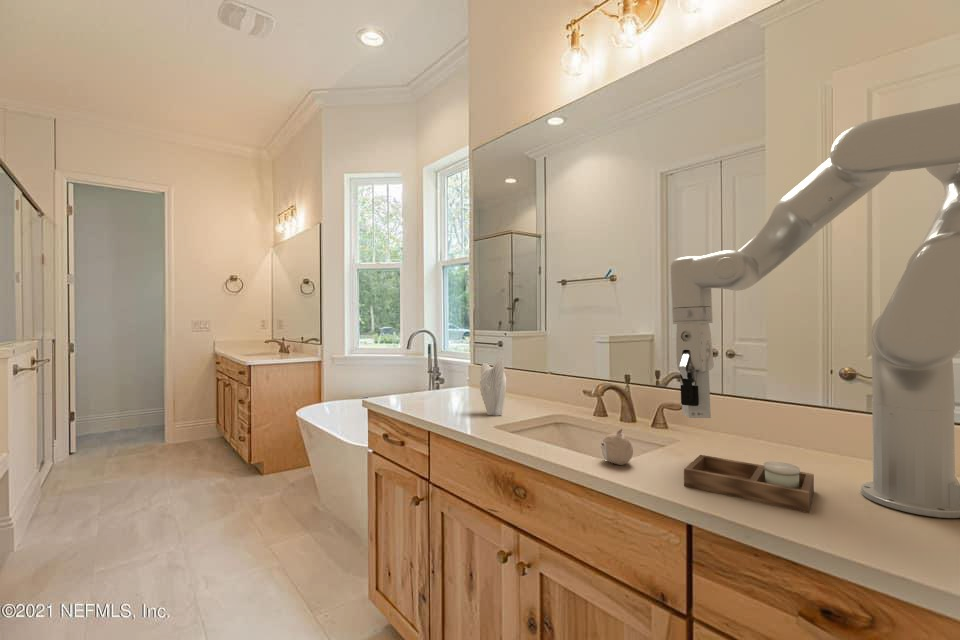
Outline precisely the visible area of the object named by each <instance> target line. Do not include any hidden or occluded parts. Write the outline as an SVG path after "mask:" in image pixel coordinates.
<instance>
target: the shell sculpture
mask: <svg viewBox="0 0 960 640" xmlns="http://www.w3.org/2000/svg"><path fill="white" fill-rule="evenodd" d="M504 364H505V362H504V360H503V358H497V359H496V362H495V363H494V364H493V366H492V367H491V366H490V365H489V364H488V363H485V362H482V364H481V366H480V381H479V385H480V391H479V392H480V395H481V397H482V401H483V404H484V407H485V410H486V413H487V415H488V416H494V417H495V416H502V415H503V413H504V408H505V407H504V406H505V399H506V392H507V377H506V372H505V366H504Z"/></svg>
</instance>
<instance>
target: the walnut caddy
mask: <svg viewBox="0 0 960 640" xmlns="http://www.w3.org/2000/svg"><path fill="white" fill-rule="evenodd" d="M814 477H815V474H814V473H811V472H803V471H800V474H799V489H795V488H790V487H784V486H779V485H774V484H769V483H765V469H764V464H763V465H761V464H758V463H752V462H751V463H750V462H745V461H739V460H734V459H728V458H723V457H715V456H712V455H711V456H709V455H704V454H699V455H698V456H697V457H696V458H695V459H694V460H692V461H691V462H690V463H689V464H688V465H687V466H685V468H684V469H683V486H684V487H688V488H692V489H697V490H702V491H706V492H711V493H716V494H721V495H725V496H729V497H734V498H739V499H742V500H748V501H752V502H756V503H757V502H758V503H762V504H766V505H771V506H774V507H775V506H776V507H780V508H784V509H790V510H794V511H799V512H803V513H809V512H810V509H811V505H812V501H813V496H814V494H815V481H814V480H815V479H814Z"/></svg>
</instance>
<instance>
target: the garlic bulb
mask: <svg viewBox="0 0 960 640" xmlns="http://www.w3.org/2000/svg"><path fill="white" fill-rule="evenodd" d="M600 444H601V446H600V448H601V453H602V456H603V458H604V460H606V461H607V462H609V463H610V462H611V464H613V463H614V464H615V465H619V466H623V465H625V464H627V463H629V462H630V460H632V457H633V455H634V447H633V446H632V443H631V441H630V440H629V438H628V436H626V435H625V434H624V433H623V428H620V429H619V430H618V431H617V432H613V433H609V434H607V435H605V437H603V439H602V441H601V443H600Z"/></svg>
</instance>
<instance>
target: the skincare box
mask: <svg viewBox="0 0 960 640" xmlns="http://www.w3.org/2000/svg"><path fill="white" fill-rule="evenodd" d="M690 360H691V359H690ZM706 363H707V371H705V372H703V373H701V372H700V371H699V370H698V372H697V382H696V386H698V393H699V405H698V406H688V405H682V404H681V413H682V414H683V415H685V416H686V417H688V418H689V419H710V418H711V416H712V415H711V395H710V394H711V393H710V392H711V391H710V370H709V362H708V359H706ZM688 370H694V368H692V367H690V366H688ZM691 375H692V377H693V374H691Z"/></svg>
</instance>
